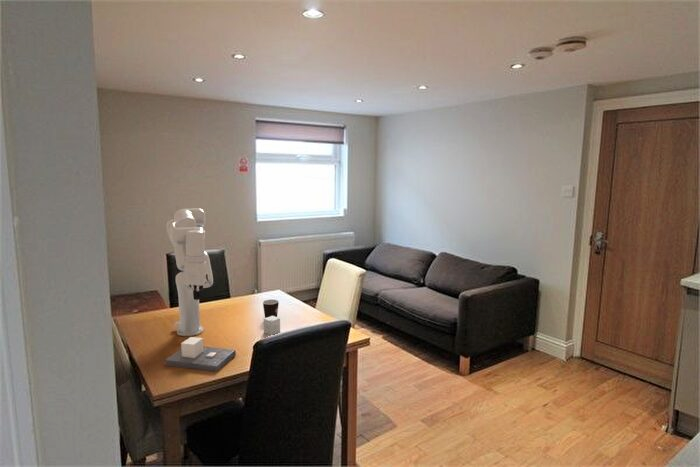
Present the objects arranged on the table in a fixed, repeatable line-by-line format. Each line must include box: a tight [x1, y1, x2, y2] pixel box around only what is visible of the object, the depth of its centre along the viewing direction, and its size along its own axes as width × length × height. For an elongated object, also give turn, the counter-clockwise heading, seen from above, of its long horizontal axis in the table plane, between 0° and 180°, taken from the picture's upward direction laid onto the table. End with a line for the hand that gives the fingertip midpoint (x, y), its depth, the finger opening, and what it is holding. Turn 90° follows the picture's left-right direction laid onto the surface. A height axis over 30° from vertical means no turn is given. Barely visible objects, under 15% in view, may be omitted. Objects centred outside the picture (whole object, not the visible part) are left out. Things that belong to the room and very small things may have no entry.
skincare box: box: [263, 316, 281, 336], centre depth 214 cm, size 6×6×7 cm
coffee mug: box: [262, 299, 280, 318], centre depth 232 cm, size 12×9×10 cm
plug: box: [180, 336, 204, 358], centre depth 183 cm, size 6×7×8 cm
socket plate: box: [164, 345, 236, 372], centre depth 182 cm, size 24×16×3 cm, turn 77°
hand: (197, 298), depth 186 cm, fingers closed
